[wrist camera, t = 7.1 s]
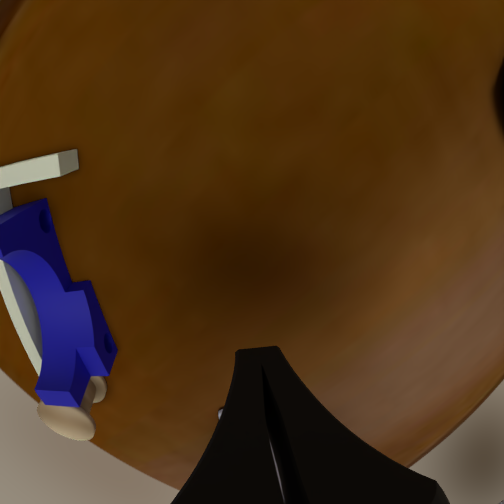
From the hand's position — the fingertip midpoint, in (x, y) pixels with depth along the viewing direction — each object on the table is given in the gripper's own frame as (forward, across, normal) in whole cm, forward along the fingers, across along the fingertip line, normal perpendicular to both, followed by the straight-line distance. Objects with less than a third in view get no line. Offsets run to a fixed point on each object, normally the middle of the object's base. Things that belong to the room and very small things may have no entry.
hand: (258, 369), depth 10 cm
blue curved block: (+10, +12, +1) cm, 16 cm away
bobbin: (+10, +14, +11) cm, 20 cm away
